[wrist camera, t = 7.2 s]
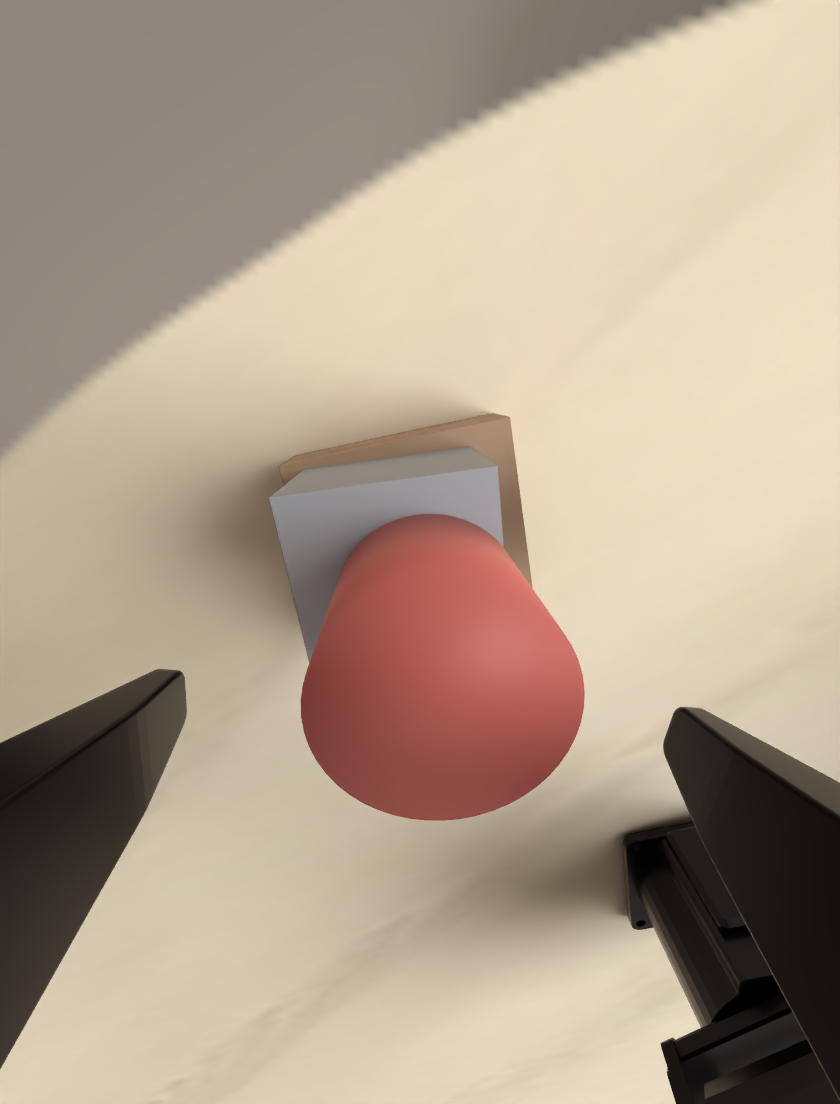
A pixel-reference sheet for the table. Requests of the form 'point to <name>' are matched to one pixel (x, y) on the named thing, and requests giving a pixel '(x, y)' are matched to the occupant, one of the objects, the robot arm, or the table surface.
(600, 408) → the table surface
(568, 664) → the red cylinder
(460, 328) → the table surface
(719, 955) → the robot arm
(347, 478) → the grey block
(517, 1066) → the table surface
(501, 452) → the walnut slab
